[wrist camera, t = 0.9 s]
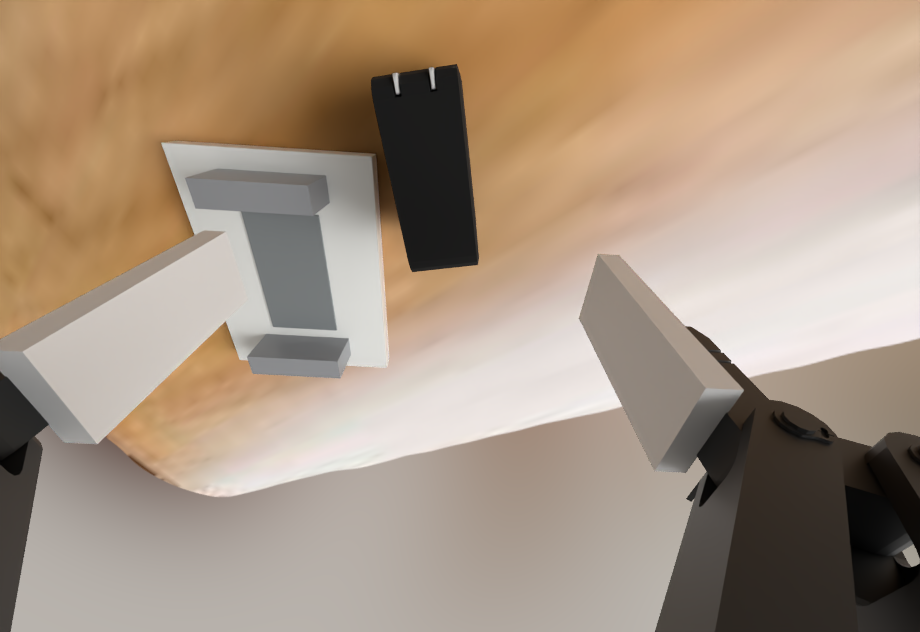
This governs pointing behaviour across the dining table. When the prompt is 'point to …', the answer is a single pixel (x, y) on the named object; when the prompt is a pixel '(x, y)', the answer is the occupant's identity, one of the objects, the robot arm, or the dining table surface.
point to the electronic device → (429, 164)
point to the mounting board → (294, 251)
